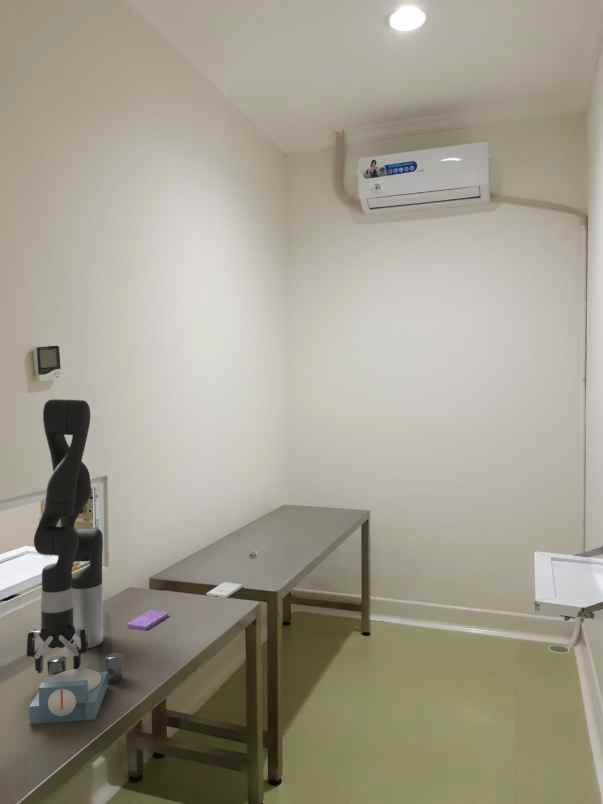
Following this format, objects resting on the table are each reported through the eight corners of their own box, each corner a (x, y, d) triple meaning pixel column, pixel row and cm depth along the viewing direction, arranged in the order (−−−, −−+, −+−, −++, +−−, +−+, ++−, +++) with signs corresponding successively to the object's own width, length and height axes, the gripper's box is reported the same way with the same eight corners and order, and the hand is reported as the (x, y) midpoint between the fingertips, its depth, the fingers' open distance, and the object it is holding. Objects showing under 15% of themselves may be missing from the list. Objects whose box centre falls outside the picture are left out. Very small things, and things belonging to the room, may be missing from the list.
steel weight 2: (107, 676, 161) (106, 653, 160) (124, 675, 161) (124, 652, 161) (103, 684, 156) (103, 660, 156) (121, 683, 157) (121, 659, 157)
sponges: (126, 629, 193) (126, 623, 193) (150, 614, 205) (150, 609, 204) (145, 632, 190) (145, 626, 190) (168, 617, 202) (168, 612, 202)
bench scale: (49, 689, 154) (49, 657, 154) (108, 685, 156) (107, 653, 155) (29, 725, 138) (28, 689, 137) (94, 720, 139) (94, 685, 139)
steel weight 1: (50, 679, 159) (50, 656, 159) (68, 678, 159) (68, 655, 159) (45, 688, 154) (45, 664, 154) (64, 686, 155) (63, 663, 155)
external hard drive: (242, 588, 230) (226, 599, 219) (223, 586, 233) (206, 596, 222) (242, 584, 230) (226, 594, 219) (223, 581, 233) (206, 592, 222)
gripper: (89, 599, 161) (90, 662, 161) (31, 603, 159) (32, 666, 159) (83, 609, 153) (84, 675, 154) (22, 613, 151) (23, 679, 152)
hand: (58, 670), depth 156 cm, fingers open, 8 cm apart
